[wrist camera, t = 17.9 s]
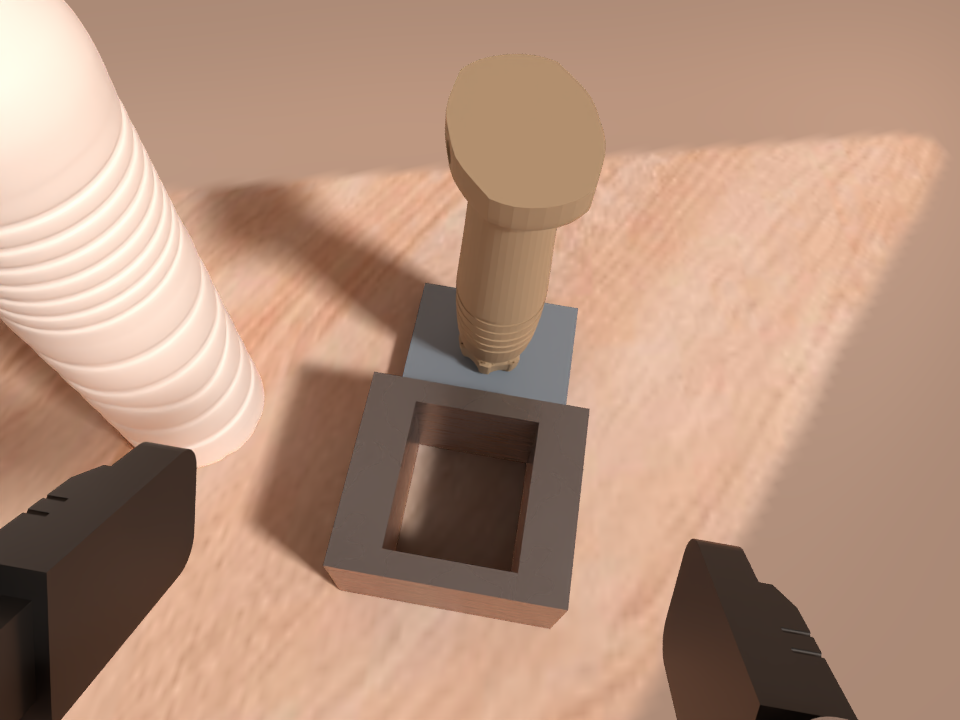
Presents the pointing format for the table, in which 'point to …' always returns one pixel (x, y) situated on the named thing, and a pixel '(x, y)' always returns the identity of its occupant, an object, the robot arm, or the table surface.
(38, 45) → the water bottle
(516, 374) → the rubber mat
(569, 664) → the table surface
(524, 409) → the socket block
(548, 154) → the handle
